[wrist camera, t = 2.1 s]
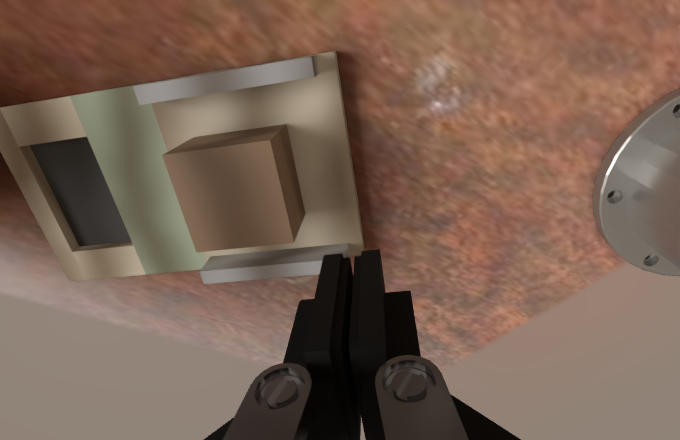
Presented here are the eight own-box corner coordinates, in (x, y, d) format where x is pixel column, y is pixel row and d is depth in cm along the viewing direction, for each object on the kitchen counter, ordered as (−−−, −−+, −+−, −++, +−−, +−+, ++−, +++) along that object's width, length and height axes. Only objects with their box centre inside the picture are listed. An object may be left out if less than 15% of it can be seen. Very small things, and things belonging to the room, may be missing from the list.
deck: (336, 51, 22) (330, 53, 20) (364, 247, 28) (363, 270, 25) (-8, 108, 26) (-52, 117, 23) (78, 274, 31) (49, 297, 28)
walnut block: (286, 123, 24) (270, 139, 20) (305, 213, 26) (293, 242, 22) (193, 137, 24) (161, 155, 21) (220, 223, 27) (196, 252, 23)
